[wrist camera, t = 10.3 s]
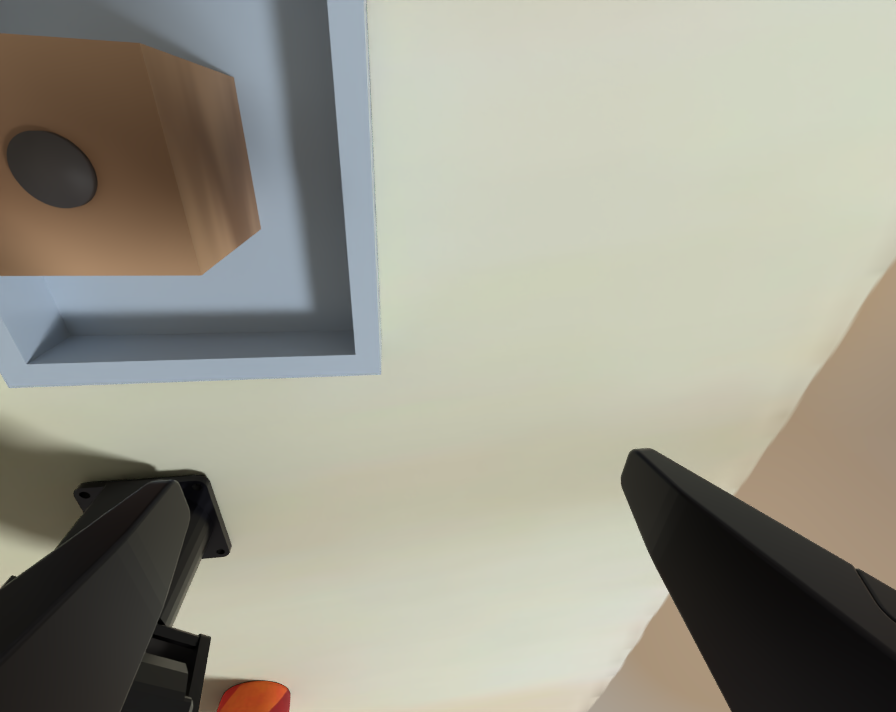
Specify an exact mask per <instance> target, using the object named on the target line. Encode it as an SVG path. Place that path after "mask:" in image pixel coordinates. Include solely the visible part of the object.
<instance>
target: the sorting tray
mask: <svg viewBox="0 0 896 712" xmlns="http://www.w3.org/2000/svg"><path fill="white" fill-rule="evenodd" d="M0 33H6V34H20V35H34V36H48V37H62V38H76V39H91V40H105V41H119V42H133V43H141V44H144V45H147V46H149V47H152V48H155V49H158V50H160V51H163V52H166V53H169V54H171V55H174V56H177V57H179V58H182V59H185V60H188V61H190V62H193V63H196V64H199V65H201V66H204V67H207V68H210V69H212V70H215V71H218V72H220V73H223V74H226V75H229V76H231V77H234V81H235V87H236V92H237V98H238V103H239V109H240V114H241V120H242V125H243V131H244V137H245V142H246V148H247V153H248V159H249V164H250V170H251V175H252V181H253V186H254V192H255V198H256V203H257V209H258V214H259V220H260V225H261V230H259V231H258V232H257V233H256V234H254V235H253V236H252V237H250V238H249V239H248V240H246V241H245V242H244V243H243V244H241V245H240V246H239V247H237V248H236V249H235V250H234V251H232V252H231V253H230V254H228V255H227V256H226V257H225V258H223V259H222V260H221V261H219V262H218V263H217V264H216V265H214V266H213V267H212V268H210V269H209V270H208V271H207V272H205V273H204V274H203V275H201V276H0V373H1V375H2V377H3V379H4V380H5V382H6V384H7V385H8V387H9V388H21V387H48V386H76V385H104V384H132V383H160V382H187V381H215V380H243V379H271V378H299V377H326V376H354V375H381V348H382V340H381V318H380V295H379V272H378V250H377V227H376V204H375V182H374V159H373V136H372V113H371V91H370V68H369V45H368V23H367V0H0Z"/></svg>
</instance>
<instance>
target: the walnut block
mask: <svg viewBox="0 0 896 712" xmlns="http://www.w3.org/2000/svg"><path fill="white" fill-rule="evenodd" d="M259 230H261V225H260V220H259V214H258V209H257V203H256V198H255V192H254V186H253V181H252V175H251V170H250V164H249V159H248V153H247V148H246V142H245V137H244V131H243V125H242V120H241V114H240V109H239V103H238V98H237V92H236V87H235V81H234V77H231V76H229V75H226V74H223V73H220V72H218V71H215V70H212V69H210V68H207V67H204V66H201V65H199V64H196V63H193V62H190V61H188V60H185V59H182V58H179V57H177V56H174V55H171V54H169V53H166V52H163V51H160V50H158V49H155V48H152V47H149V46H147V45H144V44H141V43H133V42H119V41H105V40H91V39H76V38H62V37H48V36H34V35H20V34H6V33H0V276H201V275H203V274H204V273H205V272H207V271H208V270H209V269H210V268H212V267H213V266H214V265H216V264H217V263H218V262H219V261H221V260H222V259H223V258H225V257H226V256H227V255H228V254H230V253H231V252H232V251H234V250H235V249H236V248H237V247H239V246H240V245H241V244H243V243H244V242H245V241H246V240H248V239H249V238H250V237H252V236H253V235H254V234H256V233H257V232H258V231H259Z"/></svg>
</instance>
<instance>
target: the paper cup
mask: <svg viewBox="0 0 896 712" xmlns="http://www.w3.org/2000/svg"><path fill="white" fill-rule="evenodd" d="M289 708H290V691H289V689H288V688H287V687H285V686H283V685H281V684H279V683H275V682H270V681H251V682H245V683H241V684H238V685H235V686H233V687H231V688H229V689H228V690H227V691H226V692H225V693H224V694H223V696H222V699H221V701H220V704H219V706H218V709H217V712H289Z"/></svg>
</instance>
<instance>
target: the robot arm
mask: <svg viewBox="0 0 896 712" xmlns="http://www.w3.org/2000/svg"><path fill="white" fill-rule="evenodd" d="M198 484H199V485H198ZM621 486H622V489H623V492H624V494H625V496H626V499H627V501H628V504H629V506H630V509H631V511H632V514H633V516H634V518H635V521H636V523H637V526H638V528H639V531H640V533H641V536H642V538H643V541H644V543H645V545H646V548H647V550H648V552H649V554H650V556H651V559H652V561H653V563H654V565H655V567H656V569H657V570H658V572H659V574H660V576H661V578H662V580H663V582H664V584H665V586H666V588H667V590H668V591H669V593H670V595H671V597H672V599H673V601H674V603H675V605H676V607H677V609H678V610H679V612H680V614H681V616H682V618H683V620H684V622H685V624H686V626H687V628H688V630H689V631H690V633H691V635H692V637H693V639H694V641H695V643H696V644H697V647H698V649H699V651H700V652H701V654H702V656H703V658H704V660H705V662H706V664H707V666H708V668H709V670H710V671H711V673H712V675H713V677H714V679H715V681H716V683H717V685H718V687H719V689H720V691H721V693H722V694H723V696H724V698H725V700H726V702H727V704H728V706H729V708H730V710H731V711H732V712H896V590H894V589H893V588H891V587H889V586H888V585H886V584H884V583H882V582H881V581H879V580H877V579H875V578H874V577H872V576H870V575H869V574H867V573H865V572H864V571H862V570H860V569H855V568H854V566H853V565H851V564H850V563H848V562H846V561H845V560H843V559H841V558H839V557H838V556H836V555H834V554H832V553H831V552H829V551H827V550H826V549H824V548H822V547H820V546H819V545H817V544H815V543H813V542H812V541H810V540H808V539H807V538H805V537H803V536H802V535H800V534H798V533H796V532H795V531H793V530H791V529H789V528H788V527H786V526H784V525H783V524H781V523H779V522H777V521H776V520H774V519H772V518H771V517H769V516H767V515H765V514H764V513H762V512H760V511H758V510H757V509H755V508H753V507H752V506H750V505H748V504H746V503H745V502H743V501H741V500H739V499H738V498H736V497H734V496H733V495H731V494H729V493H728V492H726V491H724V490H722V489H721V488H719V487H717V486H715V485H714V484H712V483H710V482H709V481H707V480H705V479H703V478H702V477H700V476H698V475H697V474H695V473H693V472H691V471H690V470H688V469H686V468H684V467H683V466H681V465H679V464H678V463H676V462H674V461H672V460H671V459H669V458H667V457H666V456H664V455H662V454H660V453H659V452H657V451H655V450H653V449H651V448H642V449H633V450H631V451H630V452H629V455H628V457H627V460H626V463H625V466H624V469H623V472H622V475H621ZM73 494H74V497H75V498H76V500H77V502H78V504H79V505H80V507H81V509H82V510H83V512H84V513H83V514H82V516H81V517H80V518H79V519H78V521H77V522H76V523H75V525H74V526H73V527H72V528H71V530H70V531H69V532H68V533H67V535H66V536H65V537H64V538H63V540H62V541H61V542H60V543H59V545H58V546H57V547H56V548H55V550H54V551H52V552H51V553H50V554H48V555H47V556H45V557H44V558H43V559H41V560H40V561H38V562H37V563H36V564H34V565H33V566H31V567H30V568H29V569H27V570H26V571H25V572H23V573H22V574H20V575H19V576H18V577H16V576H13V575H12V576H11V577H10V578H9V579H8V580H7V581H6V582H5V583H4V584H3V585H2V587H1V588H0V712H198V709H199V704H200V698H201V692H202V687H203V681H204V675H205V670H206V664H207V658H208V652H209V647H210V641H211V637H210V636H206V635H203V634H199V635H195V634H192V633H189V632H185V631H182V630H179V629H176V628H172V626H173V623H174V621H175V619H176V616H177V614H178V612H179V610H180V607H181V605H182V603H183V600H184V598H185V596H186V593H187V591H188V589H189V586H190V584H191V582H192V579H193V577H194V575H195V572H196V570H197V568H198V566H199V563H200V561H201V559H205V558H216V557H224V556H227V555H228V554H229V553H230V550H231V547H232V545H231V542H230V539H229V536H228V533H227V530H226V527H225V524H224V521H223V518H222V516H221V513H220V510H219V507H218V504H217V501H216V498H215V495H214V492H213V489H212V486H211V483H210V481H209V479H208V478H207V477H205V476H202V475H193V476H178V477H162V478H147V479H132V480H117V481H102V482H87V483H82V484H80V485H79V486H78V487H77V489H76V490H75V491H74V493H73Z"/></svg>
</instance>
